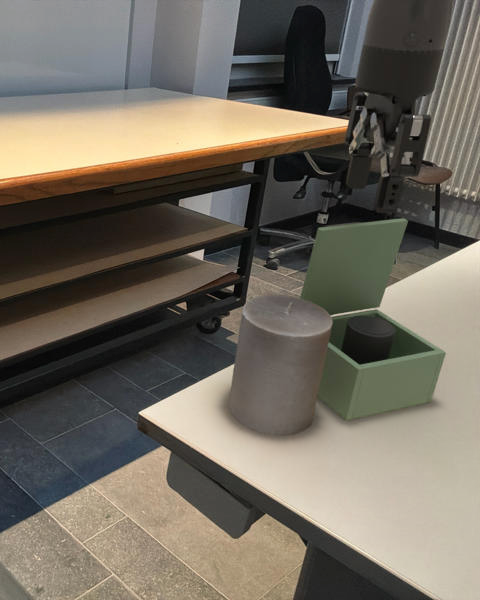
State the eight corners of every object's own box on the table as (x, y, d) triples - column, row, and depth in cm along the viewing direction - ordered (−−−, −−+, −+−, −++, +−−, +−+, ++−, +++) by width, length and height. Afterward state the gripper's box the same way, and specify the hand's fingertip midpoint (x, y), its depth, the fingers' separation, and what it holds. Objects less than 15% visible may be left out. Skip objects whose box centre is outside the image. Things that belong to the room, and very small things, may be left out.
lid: (408, 220, 82) (384, 207, 85) (322, 230, 78) (300, 215, 81) (379, 307, 88) (358, 291, 92) (298, 320, 84) (279, 303, 88)
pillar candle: (283, 387, 85) (303, 280, 79) (328, 434, 77) (355, 318, 70) (212, 398, 83) (227, 288, 76) (251, 447, 75) (272, 329, 68)
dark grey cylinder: (359, 370, 88) (373, 312, 84) (389, 393, 84) (405, 332, 80) (325, 377, 86) (338, 318, 83) (353, 400, 82) (368, 339, 78)
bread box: (429, 407, 82) (446, 352, 79) (344, 426, 79) (358, 369, 75) (364, 359, 92) (376, 308, 89) (286, 374, 88) (295, 322, 85)
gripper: (478, 52, 61) (432, 222, 68) (410, 36, 74) (377, 181, 81) (395, 50, 61) (358, 220, 68) (341, 35, 74) (315, 180, 81)
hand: (368, 199), depth 74 cm, fingers open, 8 cm apart
